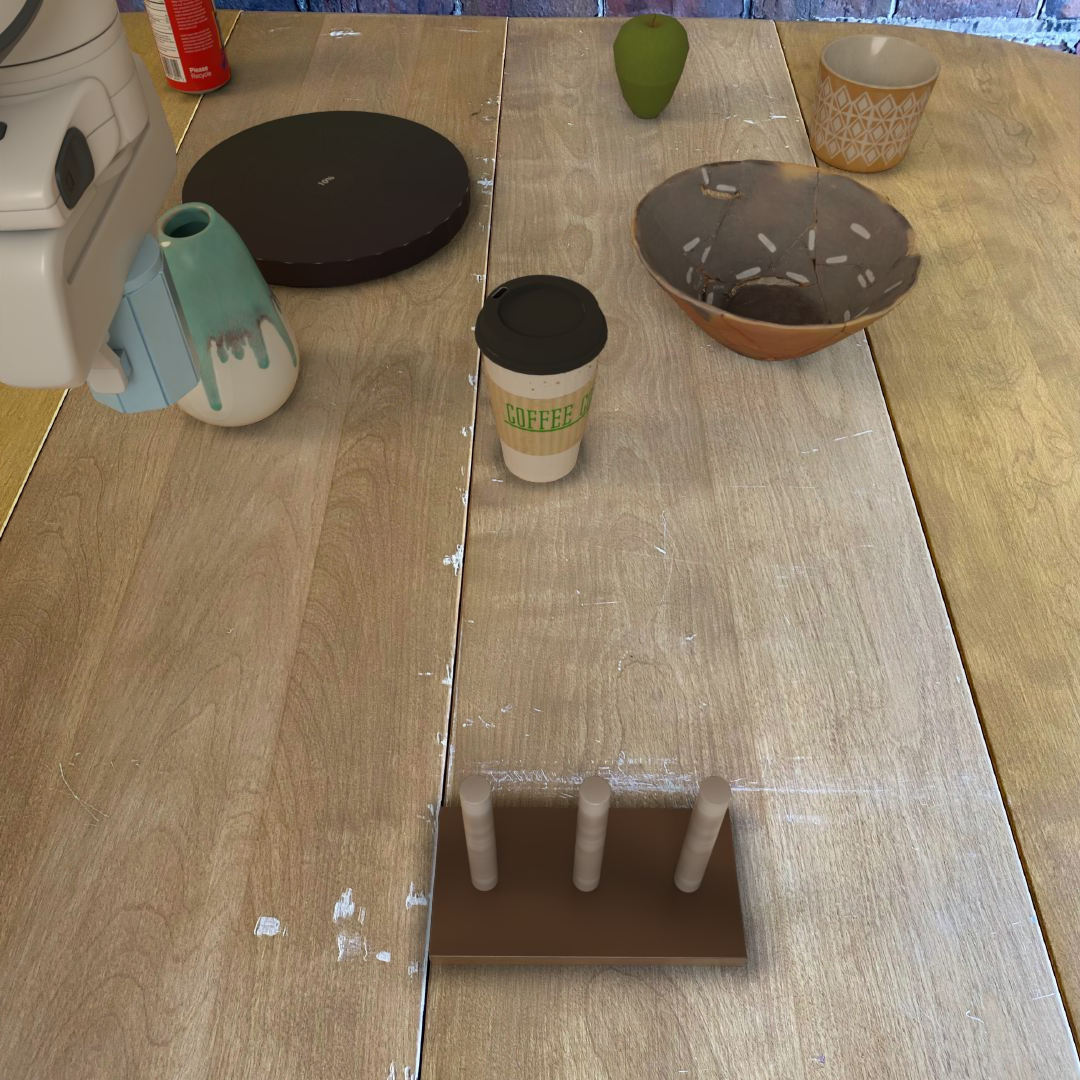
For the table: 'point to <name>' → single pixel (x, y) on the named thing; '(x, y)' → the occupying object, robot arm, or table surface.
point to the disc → (335, 194)
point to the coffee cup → (540, 370)
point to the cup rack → (586, 882)
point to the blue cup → (152, 337)
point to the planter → (870, 100)
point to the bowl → (775, 254)
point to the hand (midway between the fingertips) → (132, 340)
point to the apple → (650, 61)
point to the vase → (228, 320)
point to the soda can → (189, 44)
